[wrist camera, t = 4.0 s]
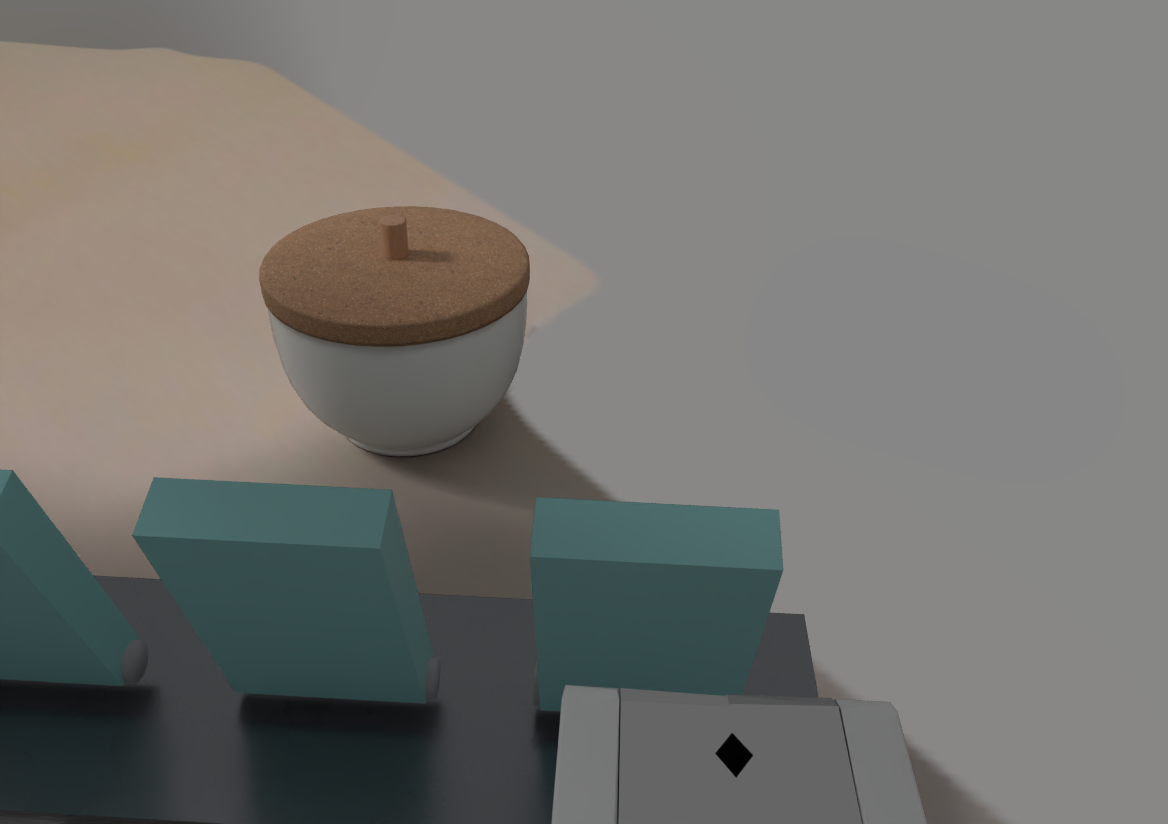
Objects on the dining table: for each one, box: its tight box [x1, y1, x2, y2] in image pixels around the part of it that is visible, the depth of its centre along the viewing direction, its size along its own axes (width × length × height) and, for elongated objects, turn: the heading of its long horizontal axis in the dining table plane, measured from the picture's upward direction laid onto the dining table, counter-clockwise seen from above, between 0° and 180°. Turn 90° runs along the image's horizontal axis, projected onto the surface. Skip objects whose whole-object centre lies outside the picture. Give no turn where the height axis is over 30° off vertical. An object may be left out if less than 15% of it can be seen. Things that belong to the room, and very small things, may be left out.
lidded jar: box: [259, 206, 530, 457], centre depth 43 cm, size 11×11×9 cm
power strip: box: [0, 576, 818, 824], centre depth 29 cm, size 27×8×4 cm, turn 87°
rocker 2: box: [132, 477, 441, 704], centre depth 24 cm, size 5×1×9 cm, turn 87°
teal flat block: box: [530, 497, 783, 711], centre depth 24 cm, size 5×1×9 cm, turn 87°
